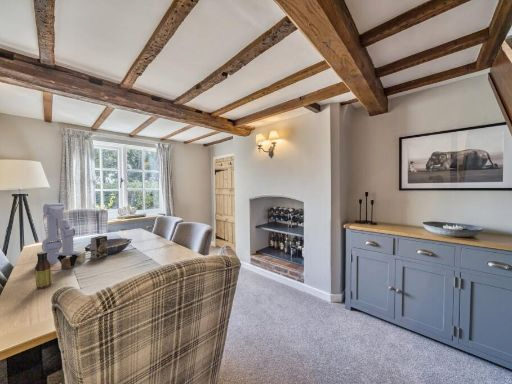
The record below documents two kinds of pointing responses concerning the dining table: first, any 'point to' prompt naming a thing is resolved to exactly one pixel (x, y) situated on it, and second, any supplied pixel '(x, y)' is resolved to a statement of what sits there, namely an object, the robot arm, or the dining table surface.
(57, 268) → the terracotta pad
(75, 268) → the board
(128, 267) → the dining table surface
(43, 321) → the dining table surface
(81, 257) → the birch block
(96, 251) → the coffee box
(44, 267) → the sauce bottle
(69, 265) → the walnut block
